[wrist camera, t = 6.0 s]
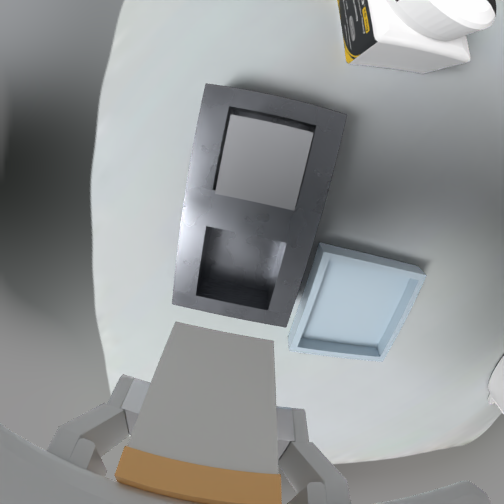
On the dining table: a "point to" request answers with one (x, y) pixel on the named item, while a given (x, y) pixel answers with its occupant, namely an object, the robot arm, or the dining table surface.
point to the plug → (208, 422)
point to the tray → (353, 304)
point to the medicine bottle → (412, 32)
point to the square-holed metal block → (250, 214)
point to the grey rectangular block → (263, 162)
